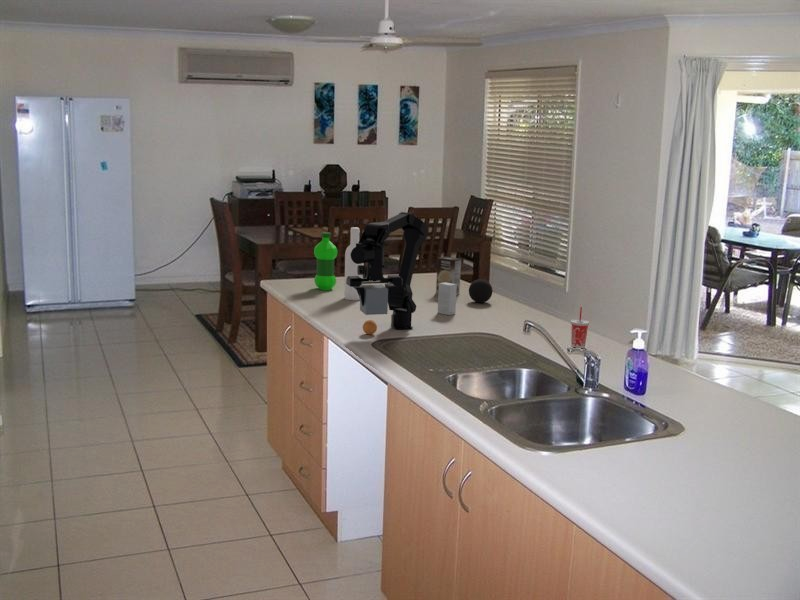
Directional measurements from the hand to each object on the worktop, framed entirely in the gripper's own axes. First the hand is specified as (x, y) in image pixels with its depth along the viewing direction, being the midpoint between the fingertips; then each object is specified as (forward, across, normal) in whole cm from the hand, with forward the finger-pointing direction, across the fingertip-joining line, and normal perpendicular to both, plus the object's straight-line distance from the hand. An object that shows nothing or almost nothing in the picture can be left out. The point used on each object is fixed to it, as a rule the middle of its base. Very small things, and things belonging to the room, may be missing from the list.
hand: (374, 305), depth 294 cm
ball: (+8, 0, -3) cm, 9 cm away
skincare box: (+11, -39, -31) cm, 51 cm away
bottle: (+11, -10, -65) cm, 67 cm away
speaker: (+11, -61, -49) cm, 79 cm away
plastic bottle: (+11, -3, -88) cm, 89 cm away
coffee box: (+11, -54, -69) cm, 88 cm away
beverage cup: (+11, -65, +27) cm, 71 cm away
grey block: (+2, 0, 0) cm, 2 cm away
